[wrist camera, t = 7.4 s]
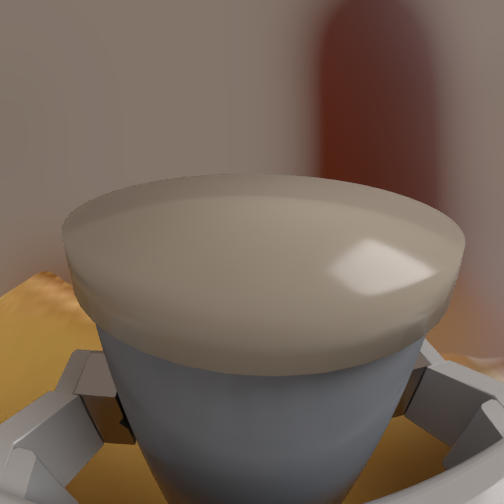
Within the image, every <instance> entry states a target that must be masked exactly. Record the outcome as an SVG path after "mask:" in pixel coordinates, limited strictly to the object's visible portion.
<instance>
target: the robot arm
mask: <svg viewBox="0 0 504 504" xmlns="http://www.w3.org/2000/svg"><path fill="white" fill-rule="evenodd" d="M401 415H404V416H405V417H406V418H408V419H409V420H411V421H412V422H414V423H415V424H416V425H418V426H419V427H421V428H422V429H424V430H425V431H427V432H428V433H430V434H431V435H433V436H434V437H436V438H437V439H439V440H441V441H442V442H444V443H445V444H447V445H448V446H450V447H451V449H450V451H449V452H448V453H447V455H446V456H445V457H444V458H443V461H442V464H443V466H444V468H445V469H446V471H444V472H442V473H440V474H438V475H436V476H434V477H431V478H429V479H427V480H425V481H422V482H420V483H418V484H415V485H413V486H411V487H408V488H406V489H403V490H400V491H398V492H395V493H392V494H390V495H387V496H384V497H381V498H378V499H375V500H372V501H369V502H366V503H363V504H504V383H503V382H501V381H498V380H496V379H494V378H491V377H489V376H486V375H484V374H481V373H479V372H477V371H474V370H472V369H469V368H467V367H465V366H462V365H460V364H457V363H455V362H453V361H450V360H448V361H445V360H444V359H443V358H442V357H441V356H440V354H439V353H438V352H437V351H436V350H435V349H434V348H433V347H432V345H431V344H430V343H429V342H428V341H427V340H426V339H424V341H423V344H422V347H421V350H420V352H419V355H418V358H417V360H416V363H415V365H414V368H413V370H412V373H411V375H410V378H409V380H408V382H407V385H406V387H405V389H404V392H403V394H402V396H401V398H400V401H399V403H398V405H397V407H396V409H395V411H394V413H393V415H392V417H391V418H394V417H398V416H401ZM104 443H114V444H129V445H135V443H136V438H135V436H134V434H133V431H132V429H131V426H130V424H129V422H128V419H127V417H126V414H125V412H124V409H123V406H122V404H121V401H120V399H119V396H118V393H117V390H116V388H115V385H114V382H113V379H112V376H111V373H110V370H109V367H108V364H107V361H106V358H105V354H104V351H95V350H94V351H91V350H79V349H77V350H75V351H74V352H73V353H72V355H71V357H70V359H69V361H68V363H67V365H66V367H65V369H64V372H63V374H62V376H61V378H60V380H59V382H58V384H57V387H56V389H55V391H54V392H52V391H49V392H47V393H46V394H44V395H43V396H41V397H40V398H38V399H37V400H36V401H34V402H33V403H31V404H30V405H28V406H27V407H25V408H24V409H22V410H21V411H19V412H18V413H16V414H15V415H14V416H12V417H11V418H9V419H8V420H6V421H5V422H3V423H2V424H0V504H79V503H78V501H77V500H76V499H75V498H74V497H73V496H72V495H71V494H70V493H69V492H68V491H67V490H66V489H65V487H66V486H67V484H68V483H69V482H70V481H71V480H72V479H73V478H74V477H75V476H76V475H77V474H78V472H79V471H80V470H81V469H82V468H83V467H84V466H85V465H86V464H87V463H88V461H89V460H90V459H91V458H92V457H93V456H94V455H95V454H96V453H97V452H98V450H99V449H100V448H101V447H102V446H103V445H104Z"/></svg>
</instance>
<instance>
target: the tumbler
mask: <svg viewBox="0 0 504 504" xmlns="http://www.w3.org/2000/svg"><path fill="white" fill-rule="evenodd" d="M62 236H63V242H64V247H65V253H66V258H67V263H68V268H69V273H70V278H71V282H72V286H73V291H74V294H75V296H76V298H77V300H78V302H79V304H80V306H81V308H82V309H83V310H84V311H85V312H86V314H87V315H88V316H89V317H90V318H91V320H92V321H93V322H95V323H96V327H97V330H98V334H99V338H100V341H101V344H102V348H103V351H104V354H105V358H106V361H107V364H108V367H109V370H110V373H111V376H112V379H113V382H114V385H115V388H116V390H117V393H118V396H119V399H120V401H121V404H122V406H123V409H124V412H125V414H126V417H127V419H128V422H129V424H130V426H131V429H132V431H133V434H134V436H135V438H136V440H137V443H138V445H139V447H140V449H141V451H142V454H143V456H144V458H145V460H146V462H147V464H148V466H149V468H150V470H151V472H152V474H153V476H154V478H155V480H156V482H157V484H158V486H159V488H160V490H161V492H162V493H163V495H164V497H165V499H166V501H167V503H168V504H341V503H342V502H343V500H344V499H345V497H346V496H347V494H348V493H349V491H350V490H351V488H352V487H353V485H354V484H355V482H356V481H357V479H358V477H359V476H360V474H361V472H362V471H363V469H364V467H365V466H366V464H367V462H368V461H369V459H370V457H371V455H372V454H373V452H374V450H375V448H376V446H377V445H378V443H379V441H380V439H381V437H382V435H383V433H384V431H385V429H386V427H387V426H388V424H389V422H390V420H391V417H392V415H393V413H394V411H395V409H396V407H397V405H398V403H399V401H400V398H401V396H402V394H403V392H404V389H405V387H406V385H407V382H408V380H409V378H410V375H411V373H412V370H413V368H414V365H415V363H416V360H417V358H418V355H419V352H420V350H421V347H422V344H423V341H424V339H425V336H426V334H427V333H428V332H429V331H430V330H431V329H433V328H434V327H435V326H436V325H437V324H438V323H439V321H440V319H441V318H442V317H443V315H444V314H445V313H446V311H447V309H448V306H449V303H450V300H451V296H452V294H453V290H454V287H455V283H456V279H457V276H458V271H459V268H460V264H461V260H462V256H463V252H464V247H465V243H466V242H465V238H464V234H463V232H462V231H461V229H460V228H459V226H458V225H457V224H455V222H454V221H453V220H451V219H450V218H448V217H447V216H446V215H444V214H443V213H441V212H439V211H438V210H436V209H434V208H432V207H430V206H428V205H426V204H424V203H421V202H419V201H416V200H413V199H411V198H408V197H405V196H402V195H399V194H396V193H393V192H389V191H385V190H382V189H378V188H373V187H369V186H364V185H360V184H355V183H349V182H344V181H337V180H330V179H322V178H315V177H305V176H293V175H277V174H219V175H204V176H203V175H202V176H191V177H181V178H173V179H166V180H160V181H154V182H149V183H144V184H139V185H134V186H131V187H126V188H123V189H119V190H116V191H113V192H110V193H107V194H104V195H102V196H99V197H97V198H95V199H92V200H90V201H88V202H86V203H84V204H83V205H81V206H79V207H78V208H77V209H75V210H74V211H73V212H71V213H70V215H69V216H68V217H67V218H66V219H65V221H64V224H63V226H62Z"/></svg>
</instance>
